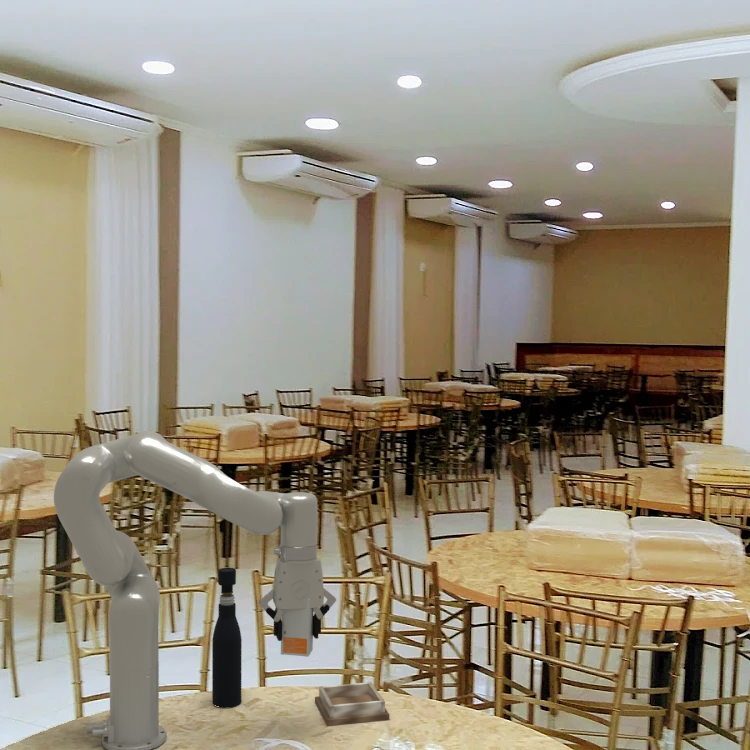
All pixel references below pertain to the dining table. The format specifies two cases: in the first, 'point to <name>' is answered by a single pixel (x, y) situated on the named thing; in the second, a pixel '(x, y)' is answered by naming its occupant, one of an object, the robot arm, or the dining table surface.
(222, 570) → the black water bottle
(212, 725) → the dining table surface
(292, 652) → the skincare box
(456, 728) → the dining table surface
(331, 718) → the square brown tray
